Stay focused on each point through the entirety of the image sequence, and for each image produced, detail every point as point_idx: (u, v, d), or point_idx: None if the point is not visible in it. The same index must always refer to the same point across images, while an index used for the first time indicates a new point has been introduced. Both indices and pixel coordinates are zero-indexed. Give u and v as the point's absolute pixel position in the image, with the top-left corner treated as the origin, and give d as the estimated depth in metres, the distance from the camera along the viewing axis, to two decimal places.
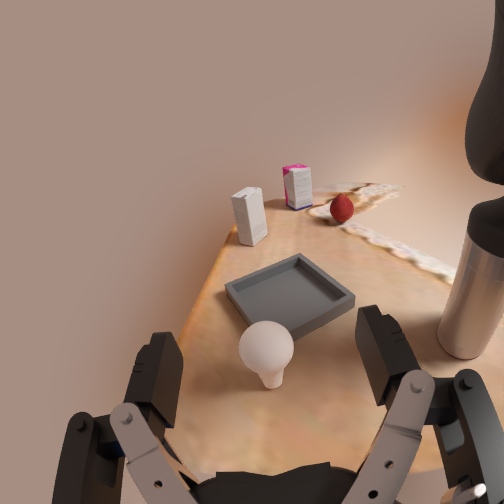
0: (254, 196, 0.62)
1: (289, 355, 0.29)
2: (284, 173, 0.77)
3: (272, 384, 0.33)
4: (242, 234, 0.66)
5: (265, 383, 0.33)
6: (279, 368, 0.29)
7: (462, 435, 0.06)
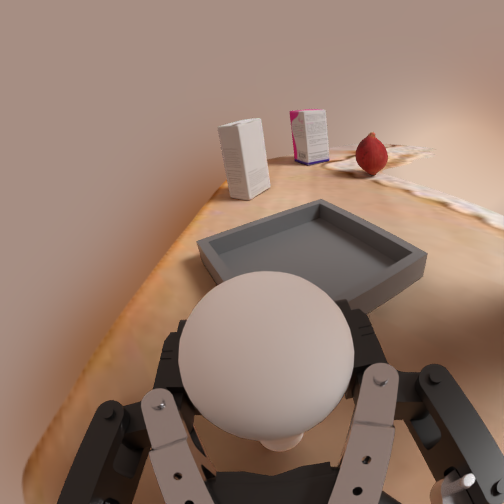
0: (252, 126, 0.40)
1: (345, 384, 0.08)
2: (291, 118, 0.56)
3: (280, 445, 0.12)
4: (233, 182, 0.44)
5: (262, 441, 0.12)
6: (310, 427, 0.08)
7: (438, 428, 0.07)
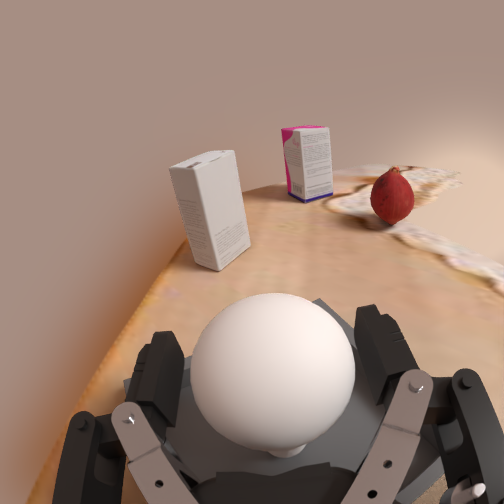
0: (219, 165, 0.28)
1: (347, 398, 0.08)
2: (284, 138, 0.43)
3: (285, 452, 0.12)
4: (197, 246, 0.32)
5: None
6: (315, 437, 0.08)
7: (461, 435, 0.06)
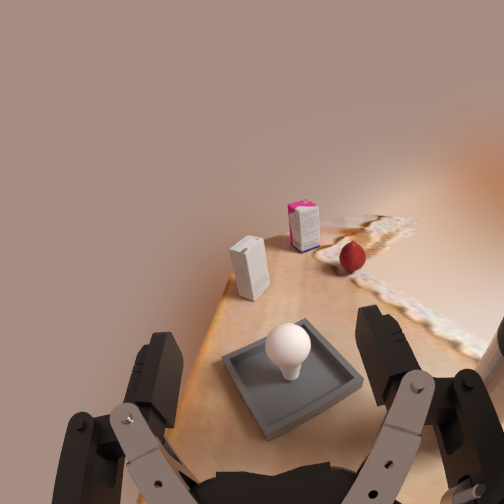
0: (256, 249, 0.55)
1: (307, 351, 0.35)
2: (289, 211, 0.71)
3: (291, 376, 0.39)
4: (242, 287, 0.59)
5: (285, 376, 0.40)
6: (299, 362, 0.35)
7: (462, 435, 0.06)
